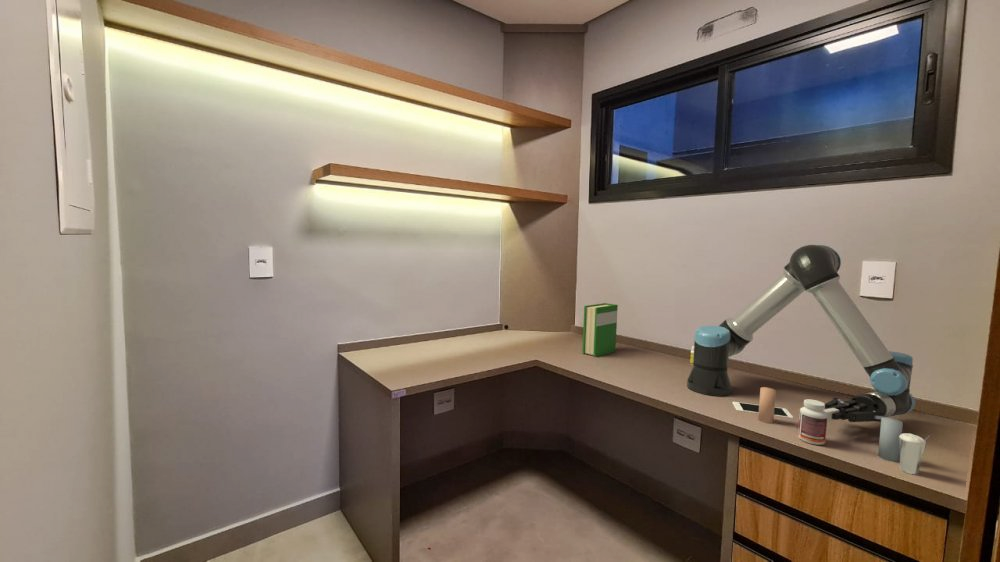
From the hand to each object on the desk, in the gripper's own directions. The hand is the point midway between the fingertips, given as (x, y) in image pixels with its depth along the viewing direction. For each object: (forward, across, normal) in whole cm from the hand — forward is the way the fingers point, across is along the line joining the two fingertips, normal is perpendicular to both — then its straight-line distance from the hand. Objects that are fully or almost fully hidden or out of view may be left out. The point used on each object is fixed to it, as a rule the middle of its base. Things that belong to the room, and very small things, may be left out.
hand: (821, 416), depth 115 cm
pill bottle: (+3, 0, -7) cm, 8 cm away
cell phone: (-4, +20, -7) cm, 22 cm away
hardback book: (+6, +98, -7) cm, 98 cm away
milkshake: (-3, -19, -7) cm, 20 cm away
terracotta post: (+3, +14, -7) cm, 15 cm away
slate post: (-6, -13, -7) cm, 16 cm away
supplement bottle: (-24, +67, -7) cm, 71 cm away
